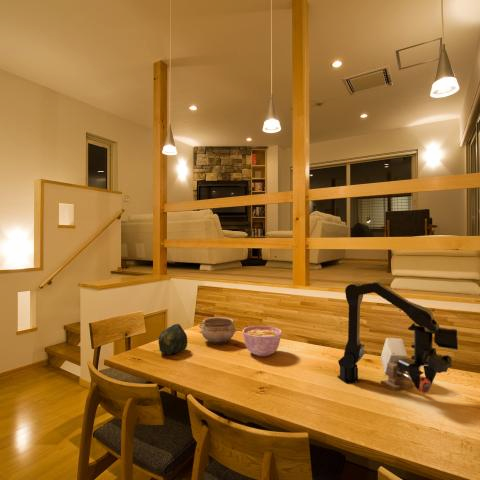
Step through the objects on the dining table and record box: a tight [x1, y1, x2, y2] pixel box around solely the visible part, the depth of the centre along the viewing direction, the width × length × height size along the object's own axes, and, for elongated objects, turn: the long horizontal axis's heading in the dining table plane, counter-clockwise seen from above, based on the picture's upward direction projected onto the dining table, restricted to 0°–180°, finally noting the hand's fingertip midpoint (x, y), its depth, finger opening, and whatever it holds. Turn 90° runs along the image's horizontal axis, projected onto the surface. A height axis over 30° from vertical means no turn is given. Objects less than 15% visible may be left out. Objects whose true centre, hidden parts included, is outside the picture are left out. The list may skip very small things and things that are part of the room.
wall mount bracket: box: [380, 362, 414, 391], centre depth 120 cm, size 10×6×8 cm, turn 108°
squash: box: [157, 323, 188, 355], centre depth 156 cm, size 14×15×15 cm
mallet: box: [397, 369, 432, 394], centre depth 115 cm, size 5×16×5 cm, turn 18°
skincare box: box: [380, 337, 408, 375], centre depth 128 cm, size 8×7×16 cm
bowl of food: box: [242, 325, 282, 357], centre depth 154 cm, size 20×20×12 cm
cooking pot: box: [198, 316, 239, 345], centre depth 172 cm, size 25×19×12 cm
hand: (423, 387), depth 109 cm, fingers closed on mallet, 5 cm apart
